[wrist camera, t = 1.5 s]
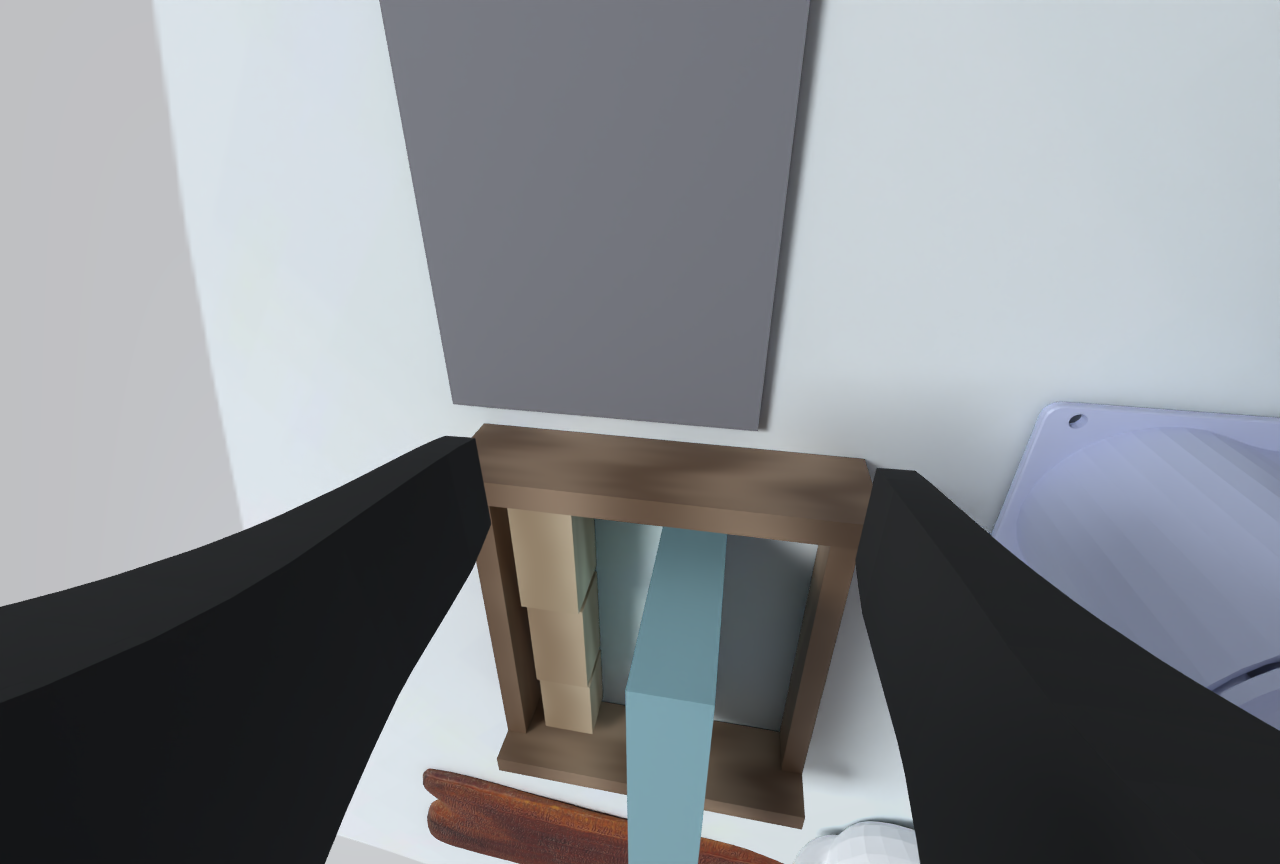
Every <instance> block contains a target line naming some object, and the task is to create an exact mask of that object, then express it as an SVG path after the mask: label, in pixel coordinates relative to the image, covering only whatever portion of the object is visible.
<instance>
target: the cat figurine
mask: <svg viewBox="0 0 1280 864" xmlns="http://www.w3.org/2000/svg"><path fill="white" fill-rule="evenodd" d="M793 864H920V860H919V854H918V847H917V841H916V835H915V830H913V829H909V828H906V827H902V826H899V825H895V824H890V823H884V822H874V821H866V822H860V823H856V824H854V825H852V826H849V827H848V828H847V829H845V830H844V831H843V832H841V833H840V834H839V835H825V836H821V837H817V838H815V839H813V840H811V841H809V842H808V843H807V844H806V845H805V846H804V847H803V848H802V849H801V850H800V851H799V853H798V855H797V856H796V858H795V860H794V861H793Z"/></svg>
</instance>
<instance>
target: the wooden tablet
mask: <svg viewBox="0 0 1280 864" xmlns="http://www.w3.org/2000/svg"><path fill="white" fill-rule="evenodd" d="M423 785H424V787H425V789H426V790H427V791H429V792H430V793H431V794H432V795H433V796H435V797H436V798H438V800H436V801H434V802H433V803H432V804H431V805H430V808H429V811H428V816H427V821H428V827H429V830H430V832H431V834H432V835H433V836H434V837H435V838H436V839H438V840H440V841H442V842H444V843H447V844H449V845H452V846H455V847H459V848H463V849H466V850H470V851H473V852H477V853H481V854H484V855H488V856H492V857H496V858H500V859H504V860H508V861H512V862H515V863H519V864H628V820H626V819H622V818H618V817H614V816H610V815H607V814H602V813H598V812H594V811H590V810H587V809H583V808H580V807H577V806H574V805H570V804H566V803H563V802H559V801H556V800H552V799H548V798H544V797H540V796H537V795H533V794H531V793H527V792H523V791H520V790H517V789H513V788H510V787H506V786H503V785H499V784H495V783H492V782H488V781H485V780H481V779H478V778H474V777H470V776H465V775H461V774H457V773H453V772H447V771H441V770H436V769H427V770H426V771H425V772H424V774H423ZM698 864H783V863H780V862H778V861H776V860H774V859H771V858H768V857H766V856H764V855H761V854H758V853H756V852H753V851H750V850H748V849H745V848H741V847H738V846H735V845H731V844H727V843H723V842H719V841H715V840H711V839H707V838H702V837H701V839H700V848H699V857H698Z"/></svg>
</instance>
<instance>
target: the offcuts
mask: <svg viewBox="0 0 1280 864" xmlns="http://www.w3.org/2000/svg"><path fill="white" fill-rule="evenodd" d="M507 510H508V517H509V524H510V531H511V538H512V545H513V552H514V558H515V565H516V572H517V579H518V586H519V593H520V600H521V606H522V607H527V611H528V618H529V626H530V633H531V640H532V648H533V655H534V662H535V669H536V677H537V679H538V680H540V685H541V693H542V700H543V708H544V715H545V723H546V726H550V727H555V728H561V729H566V730H572V731H577V732H583V733H588V734H593V731H594V727H595V724H596V720H597V716H598V712H599V709H600V705H601V701H602V697H603V689H602V668H601V650H599V648H600V628H599V607H598V587H597V572H596V571H594V570H595V568H596V546H595V526H594V518H587V517H579V516H570V515H562V514H553V513H545V512H536V511H528V510H520V509H511V508H507Z"/></svg>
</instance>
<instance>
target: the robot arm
mask: <svg viewBox="0 0 1280 864" xmlns="http://www.w3.org/2000/svg"><path fill="white" fill-rule="evenodd" d="M1079 414H1082V415H1081V418H1080V419H1079V420H1078V421H1076V422H1074V423H1069V420H1070V419H1071V418H1072V417H1073V416H1075V415H1079ZM490 526H491V519H490V514H489V508H488V503H487V498H486V492H485V487H484V482H483V476H482V471H481V466H480V460H479V455H478V450H477V444H476V439H475V438H468V437H455V436H443V437H441V438H438V439H436V440H433V441H431V442H429V443H427V444H424V445H422V446H420V447H418V448H416V449H414V450H412V451H410V452H408V453H406V454H404V455H402V456H400V457H398V458H396V459H394V460H392V461H390V462H388V463H386V464H384V465H382V466H380V467H378V468H376V469H374V470H372V471H370V472H369V473H367V474H365V475H363V476H361V477H359V478H357V479H355V480H353V481H351V482H349V483H347V484H345V485H343V486H341V487H339V488H337V489H335V490H332V491H330V492H328V493H326V494H324V495H322V496H320V497H318V498H316V499H313V500H311V501H309V502H307V503H305V504H303V505H301V506H299V507H296V508H294V509H292V510H290V511H288V512H286V513H284V514H281V515H279V516H277V517H275V518H272V519H270V520H268V521H265V522H263V523H261V524H258V525H256V526H253V527H251V528H249V529H246V530H243V531H241V532H239V533H236V534H233V535H231V536H228V537H225V538H223V539H221V540H218V541H216V542H213V543H210V544H207V545H205V546H202V547H199V548H197V549H194V550H191V551H188V552H185V553H182V554H179V555H176V556H173V557H170V558H167V559H164V560H160V561H157V562H154V563H152V564H148V565H146V566H143V567H139V568H136V569H134V570H130V571H127V572H124V573H121V574H118V575H115V576H112V577H108V578H105V579H102V580H98V581H95V582H91V583H88V584H84V585H81V586H77V587H74V588H70V589H67V590H63V591H59V592H56V593H52V594H48V595H44V596H40V597H37V598H33V599H29V600H25V601H22V602H18V603H14V604H10V605H6V606H2V607H0V864H325V862H326V859H327V857H328V854H329V852H330V849H331V847H332V844H333V842H334V840H335V837H336V835H337V832H338V830H339V827H340V825H341V822H342V820H343V817H344V815H345V812H346V810H347V808H348V806H349V803H350V801H351V799H352V796H353V794H354V792H355V790H356V787H357V785H358V783H359V780H360V778H361V776H362V774H363V771H364V769H365V767H366V765H367V762H368V760H369V758H370V755H371V753H372V751H373V749H374V747H375V744H376V742H377V740H378V738H379V736H380V734H381V732H382V730H383V728H384V725H385V723H386V721H387V719H388V717H389V715H390V713H391V711H392V708H393V706H394V704H395V702H396V700H397V698H398V696H399V694H400V692H401V690H402V688H403V687H404V685H405V683H406V681H407V679H408V677H409V676H410V674H411V672H412V670H413V669H414V667H415V665H416V664H417V662H418V660H419V659H420V657H421V655H422V654H423V652H424V650H425V649H426V647H427V645H428V644H429V642H430V640H431V639H432V637H433V635H434V634H435V632H436V630H437V629H438V627H439V625H440V624H441V622H442V620H443V619H444V617H445V615H446V614H447V612H448V610H449V609H450V607H451V605H452V604H453V602H454V600H455V599H456V597H457V595H458V593H459V592H460V590H461V588H462V587H463V585H464V583H465V582H466V580H467V578H468V576H469V575H470V573H471V571H472V569H473V567H474V565H475V562H476V560H477V558H478V556H479V553H480V551H481V549H482V546H483V544H484V541H485V539H486V536H487V534H488V531H489V529H490ZM855 562H856V570H857V578H858V587H859V594H860V601H861V607H862V614H863V617H864V621H865V625H866V629H867V633H868V636H869V640H870V644H871V648H872V651H873V655H874V659H875V662H876V666H877V669H878V673H879V677H880V680H881V684H882V687H883V691H884V695H885V698H886V702H887V706H888V709H889V713H890V716H891V720H892V724H893V727H894V731H895V734H896V738H897V742H898V746H899V750H900V755H901V759H902V763H903V768H904V772H905V777H906V783H907V789H908V795H909V800H910V806H911V812H912V818H913V824H914V829H915V835H916V841H917V847H918V854H919V860H920V864H1280V418H1275V417H1262V416H1248V415H1235V414H1221V413H1208V412H1195V411H1181V410H1168V409H1154V408H1141V407H1127V406H1114V405H1100V404H1087V403H1073V402H1054V403H1052V404H1049V405H1047V406H1046V407H1045V408H1043V409H1042V411H1041V412H1040V414H1039V416H1038V419H1037V421H1036V424H1035V426H1034V429H1033V431H1032V434H1031V436H1030V439H1029V441H1028V444H1027V446H1026V449H1025V451H1024V454H1023V456H1022V459H1021V461H1020V464H1019V466H1018V469H1017V471H1016V474H1015V476H1014V479H1013V481H1012V484H1011V486H1010V489H1009V491H1008V494H1007V496H1006V499H1005V501H1004V504H1003V506H1002V509H1001V511H1000V514H999V516H998V519H997V521H996V524H995V526H994V529H993V531H992V534H991V535H990V534H989V533H987V532H986V531H985V530H984V529H983V528H982V527H980V526H979V525H978V524H977V523H976V522H975V521H973V520H972V519H971V518H970V517H969V516H968V515H967V514H965V513H964V512H963V511H962V510H961V509H960V508H959V507H957V506H956V505H955V504H954V503H953V502H952V501H951V500H949V499H948V498H947V497H946V496H945V495H944V494H943V493H941V492H940V491H939V490H938V489H937V488H936V487H935V486H933V485H932V484H931V483H930V482H929V481H927V480H926V479H925V478H924V477H923V476H921V475H920V474H919V473H917V472H916V471H911V470H898V469H884V468H877V469H876V473H875V478H874V482H873V486H872V490H871V495H870V499H869V503H868V507H867V512H866V516H865V520H864V524H863V529H862V533H861V537H860V542H859V546H858V550H857V554H856V559H855Z"/></svg>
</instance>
